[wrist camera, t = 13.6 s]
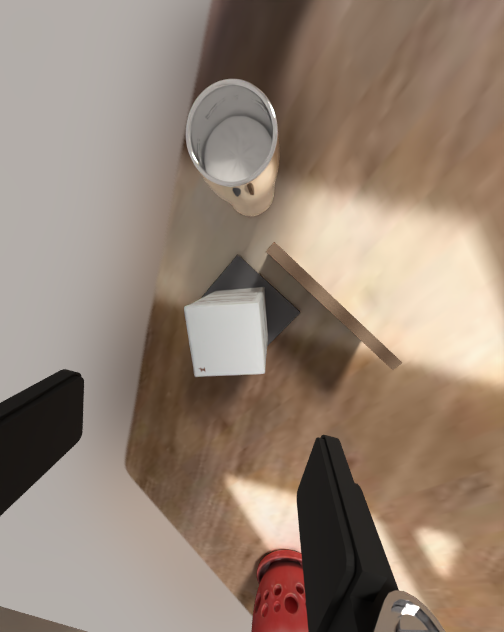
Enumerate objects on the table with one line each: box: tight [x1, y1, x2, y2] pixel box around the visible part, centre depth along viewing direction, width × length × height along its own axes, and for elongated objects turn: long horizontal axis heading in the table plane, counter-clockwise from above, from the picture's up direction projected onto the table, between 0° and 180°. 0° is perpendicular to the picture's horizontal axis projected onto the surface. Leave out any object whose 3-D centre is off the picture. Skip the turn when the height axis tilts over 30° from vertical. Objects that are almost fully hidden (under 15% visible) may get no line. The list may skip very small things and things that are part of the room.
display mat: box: [202, 255, 300, 346], centre depth 35 cm, size 12×12×1 cm
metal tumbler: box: [186, 79, 280, 216], centre depth 24 cm, size 7×7×15 cm
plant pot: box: [252, 550, 309, 632], centre depth 41 cm, size 13×13×12 cm
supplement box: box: [184, 287, 268, 377], centre depth 28 cm, size 7×7×13 cm
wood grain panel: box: [266, 242, 402, 370], centre depth 29 cm, size 18×1×10 cm, turn 48°
